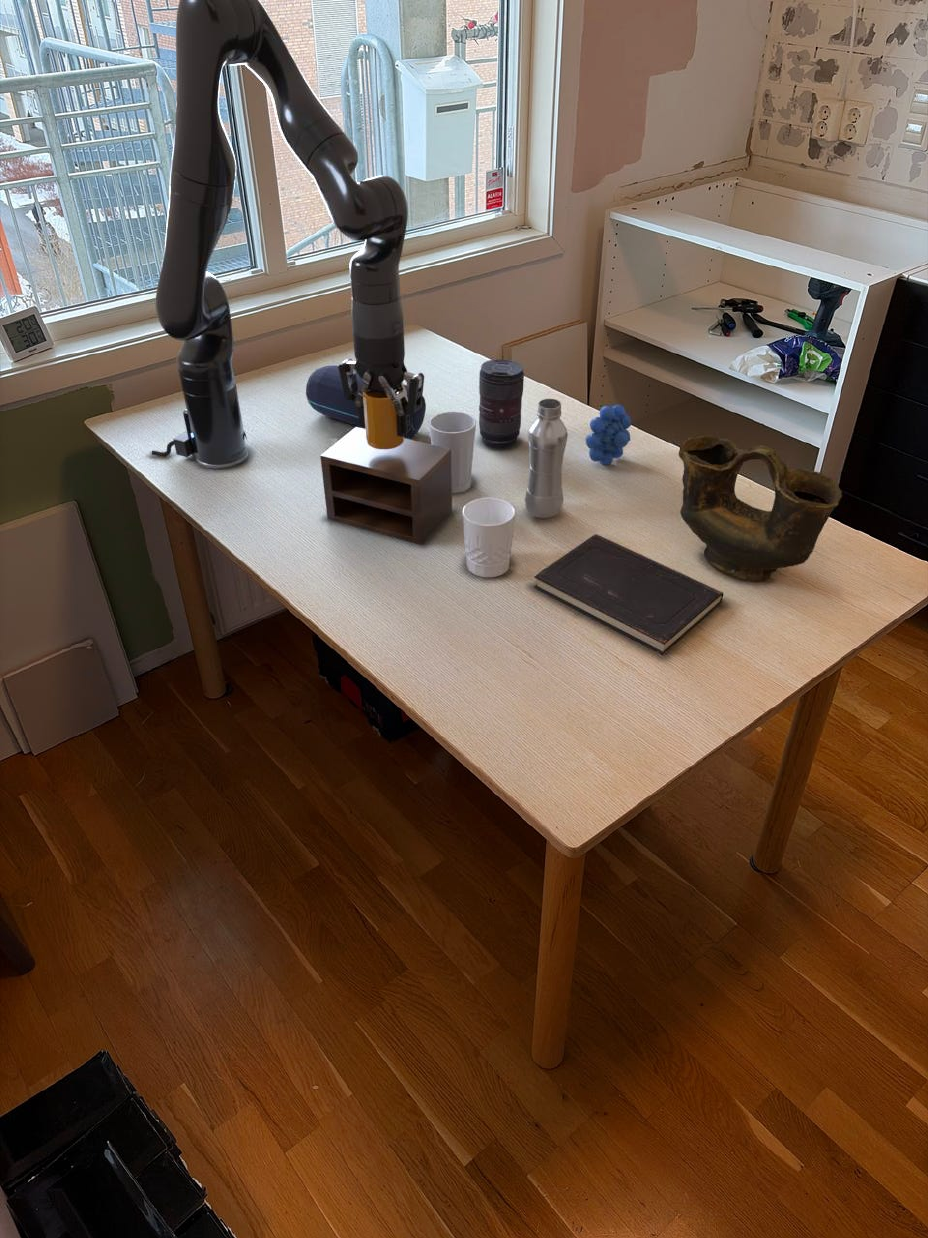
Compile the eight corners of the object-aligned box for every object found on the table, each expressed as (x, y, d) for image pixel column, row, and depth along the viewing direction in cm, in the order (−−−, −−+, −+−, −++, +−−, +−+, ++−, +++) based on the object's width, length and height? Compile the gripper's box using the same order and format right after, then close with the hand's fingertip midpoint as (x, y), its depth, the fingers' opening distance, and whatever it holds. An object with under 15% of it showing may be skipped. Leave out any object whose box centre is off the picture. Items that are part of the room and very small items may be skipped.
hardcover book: (662, 655, 128) (664, 642, 126) (533, 588, 140) (534, 575, 138) (722, 603, 137) (724, 590, 135) (596, 543, 149) (597, 531, 148)
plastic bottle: (567, 507, 158) (576, 398, 145) (554, 527, 153) (561, 416, 140) (532, 498, 160) (538, 391, 147) (518, 518, 155) (522, 408, 142)
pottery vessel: (651, 546, 148) (667, 435, 136) (686, 519, 155) (705, 410, 142) (797, 610, 136) (830, 493, 123) (828, 576, 142) (863, 462, 129)
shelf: (327, 518, 155) (319, 455, 148) (360, 488, 163) (355, 426, 155) (421, 545, 149) (419, 480, 141) (452, 512, 157) (451, 448, 149)
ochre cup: (359, 444, 146) (355, 394, 141) (378, 428, 150) (375, 379, 145) (392, 452, 144) (389, 402, 139) (410, 436, 148) (408, 386, 143)
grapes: (603, 484, 164) (609, 422, 156) (574, 470, 167) (579, 409, 160) (644, 461, 170) (652, 401, 162) (615, 448, 174) (622, 389, 166)
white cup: (477, 585, 140) (478, 530, 134) (454, 559, 146) (453, 505, 140) (522, 571, 143) (524, 517, 137) (497, 546, 149) (499, 492, 142)
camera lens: (521, 451, 173) (524, 376, 164) (478, 451, 173) (479, 375, 164) (520, 431, 179) (523, 357, 170) (478, 430, 179) (479, 357, 170)
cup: (471, 497, 160) (471, 435, 153) (426, 492, 162) (424, 430, 154) (479, 474, 166) (480, 413, 159) (436, 470, 168) (434, 409, 160)
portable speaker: (436, 430, 180) (434, 382, 173) (406, 451, 173) (404, 402, 167) (334, 400, 190) (330, 353, 184) (303, 418, 184) (297, 371, 177)
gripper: (433, 325, 136) (436, 429, 146) (349, 310, 140) (357, 411, 151) (408, 344, 130) (413, 450, 141) (322, 327, 135) (333, 431, 146)
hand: (384, 430), depth 146 cm, fingers closed on ochre cup, 6 cm apart
